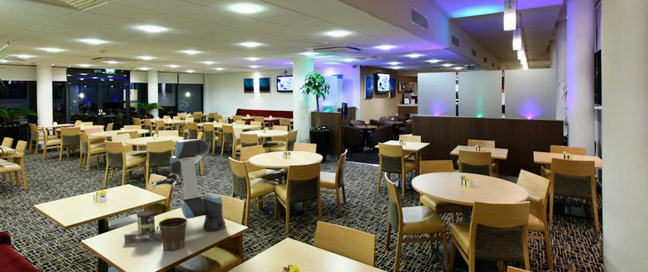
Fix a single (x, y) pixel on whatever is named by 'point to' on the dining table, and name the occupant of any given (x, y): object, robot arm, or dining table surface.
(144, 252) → the dining table surface
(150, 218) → the coffee can
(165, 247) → the plant pot
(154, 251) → the dining table surface
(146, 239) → the display shelf
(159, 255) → the dining table surface
